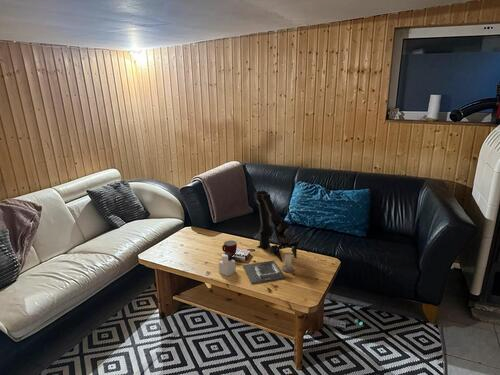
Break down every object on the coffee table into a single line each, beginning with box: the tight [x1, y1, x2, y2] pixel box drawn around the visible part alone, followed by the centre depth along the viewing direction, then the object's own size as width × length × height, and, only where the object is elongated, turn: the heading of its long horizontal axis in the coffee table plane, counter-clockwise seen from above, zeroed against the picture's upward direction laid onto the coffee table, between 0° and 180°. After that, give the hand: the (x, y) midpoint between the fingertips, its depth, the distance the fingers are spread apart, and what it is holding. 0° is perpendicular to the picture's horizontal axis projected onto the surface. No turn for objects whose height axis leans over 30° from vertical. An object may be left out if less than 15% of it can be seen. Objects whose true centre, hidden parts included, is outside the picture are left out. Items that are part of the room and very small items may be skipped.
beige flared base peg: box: [281, 252, 295, 274], centre depth 193 cm, size 7×7×10 cm
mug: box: [221, 239, 238, 256], centre depth 209 cm, size 10×8×10 cm
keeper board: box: [242, 260, 287, 285], centre depth 191 cm, size 20×20×2 cm
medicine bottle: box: [218, 252, 237, 277], centre depth 191 cm, size 7×7×12 cm
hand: (289, 260), depth 191 cm, fingers open, 9 cm apart
